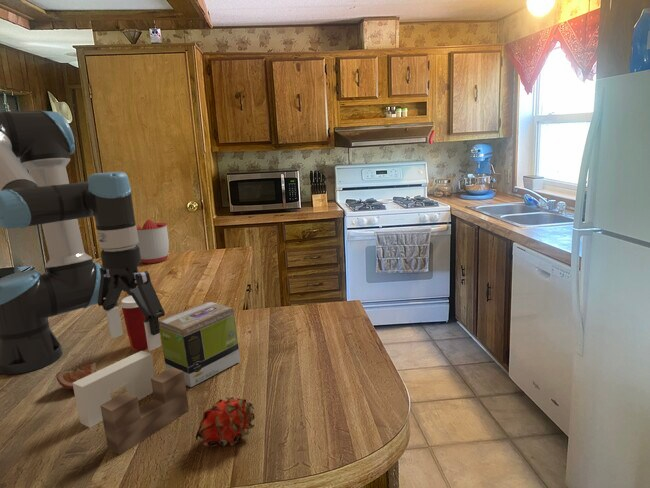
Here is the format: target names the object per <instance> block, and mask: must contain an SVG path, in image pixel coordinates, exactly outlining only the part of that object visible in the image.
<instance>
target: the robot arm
mask: <svg viewBox="0 0 650 488" xmlns="http://www.w3.org/2000/svg"><path fill="white" fill-rule="evenodd" d="M75 142H76V141H75V138H74V134H73V130H72V128H71V126H70V124H69V122H68V120H67V119H66V118H65V116H64V115H63V114H61V113H59V112H58V111H52V110H51V111H49V110H48V111H46V110H22V111H21V110H19V111H17V110H15V111H1V110H0V228H2V229H4V230H5V229H7V230H8V229H18V228H21V229H23V228H28V227H32V226H38V225H42V230H43V231H42V232H43V234H44V239H45V245H46V249H47V253H48V256H49V260H48V261H47V263H46V264H45V265H44V267H45V271H46V273H42V274H40V272H39V271H37V270H33V269H31V270H30V269H29V270H24V271H18V272H15V273H11V274H9V275H5V276H3V277H1V278H0V374H2V375H19V374H24V373H29V372H33V371H36V370H39V369H42V368H45V367H47V366H49V365H51V364H53V363H55V362H56V361H58V360H59V359H60V358H61V357H62V355H63V350H62V349H63V348H62V345H61V343H60V341H59V340H58V338H57V337H56V335H55V334H54V332H53V331H52V329H51V327H50V322H49V318H51V317H52V318H53V317H54V316H59V315H62V314H66V313H70V312H73V311H76V310H80V309H86V308H88V307H91V306H95V305H98V306H99V307H101V306H102V309H103V310H104V311H105V315H106V321H107V325H108V333H109V338H110V339H111V340H113V339H115V338H118V337H120V336H122V335H124V331H123V325H122V319H121V313H120V308H119V307H118V306H119V303H118V301H119V299H120V296H121V294H122V291H123V292H125V293H127V295H129V296H132V297H133V299H134V300H135V302H136V304H137V305H138V307H139V308H140V310H141V312H142V313H143V315H144V316H145V318H146V319H145V320H144V326H145V332H146V338H147V345H148V349H147V350H148V351H150V352H152V351H153V350H156V349H157V348H160V347H162V341H161V335H160V328H159V321H160V320H159V319H160V318H162V317H164V316H165V314H166V313H165V311H164V308H163V306H162V304H161V301H160V299H159V297H158V294H157V293H156V290H155V288H154V286H153V284H152V281H151V277H150V273H149V271H147V270H146V271H143V272H140V271H139V270H138V269H139V268H138V266H139V265H140V263H142V262H141V255H140V248H139V247H138V246H137V245H136V244H138V242H139V240H138V234H137V228H136V226H137V224H136V218H135V212H134V204H133V197H132V187H131V185H130V180H129V176H128V175H127V173H126V172H124V171H107V172H97V173H96V172H95V173H92V174H90V175H89V176H88V178H87V180H83V181H80V182H73V183H72V182H71V183H70V180H69V177H68V176H69V175H68V172H67V166H68V165H69V163H70V161H71V156H70V155H74V153H75V152H76V151H75V150H76V145H75ZM92 217H93V218H94V223H95V229H96V233H97V236H96V239H97V240H98V245H99V248H100V249H102V250H101V252H100V257H101V264H102V265H100V263H99V262H94V261H93V260H94V259H93V257H92V256H91V255H89V254H87V253H86V252H85V248H84V244H83V243H84V242H83V240H82V239H83V238H82V235H81V229H80V225H79V220H78V219H85V218H86V219H87V218H92ZM149 313H150V314H149Z"/></svg>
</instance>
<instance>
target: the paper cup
mask: <svg viewBox="0 0 650 488" xmlns="http://www.w3.org/2000/svg"><path fill="white" fill-rule="evenodd" d="M119 306H120V308H121V310H122V314H123V320H124V323H125V328H126V332H127V336H128V340H129V341H128V342H129V344H130V348H131V351H132V350H133V351H135V352H136V351H137V352H140V351H146V350H148V345H147V338H146V332H145V326H144V320H145V319H146V318H145V316H144V315H143V313H142V312H141V310H140V308H139V307H138V305H137V304H136V302H135V300H134V299H133V297H132V296H131V295H129V296H126V297H124V298H122V299H121V301H120V305H119ZM149 314H150V313H149Z"/></svg>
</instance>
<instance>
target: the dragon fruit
mask: <svg viewBox="0 0 650 488" xmlns="http://www.w3.org/2000/svg"><path fill="white" fill-rule="evenodd" d="M254 409H255V407H254V404H253V403H251V402H250V401H247V399H245V398H239V397H237V398H236V399H235V398H234V397H232V396H227V397H226V400H225V399H222V398H221V399H219V400H218V401H215V402H214V403H213V404H212V407H210V408H208V409H206V410H205V411H204V412H203V415H202V420H201V422H200V424H199V426H198V430H197V432H196V434H195V440H196V441H198V440H199V439H202V440H205V441H203V442H202V443H203V446H204V447H216V446H217V445H218V444H219V445H220V446H222V447H225V446H226V445H227V444H228V443H229V445H230V446H233V445H235V444H236V443H238V442H239V438H240V439H241V438H242V436H243V437H244V436H245V437H246V436H247V435H249V431H250V430H251V429H253V428H255V424H252V422H253V421H254V420H255V417H256V416H255V414H254ZM245 430H246V431H245Z"/></svg>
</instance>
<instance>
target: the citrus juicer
mask: <svg viewBox="0 0 650 488" xmlns="http://www.w3.org/2000/svg"><path fill="white" fill-rule="evenodd" d="M136 228H137V234H138V240H139V242H138V244H136V245H137V246H138V247H139V248H140V255H141V263H143V264H148V265H153V264H155V263H161V262H165V261H166V260H168V257H169V251H170V250H169V249H170V240H169V233H168V224H167V223H165V222H154V221H152V220H151V219H147V220H146V221H145V223H144V224H143V226H142V227H141V226H140V225H137V224H136Z"/></svg>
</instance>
